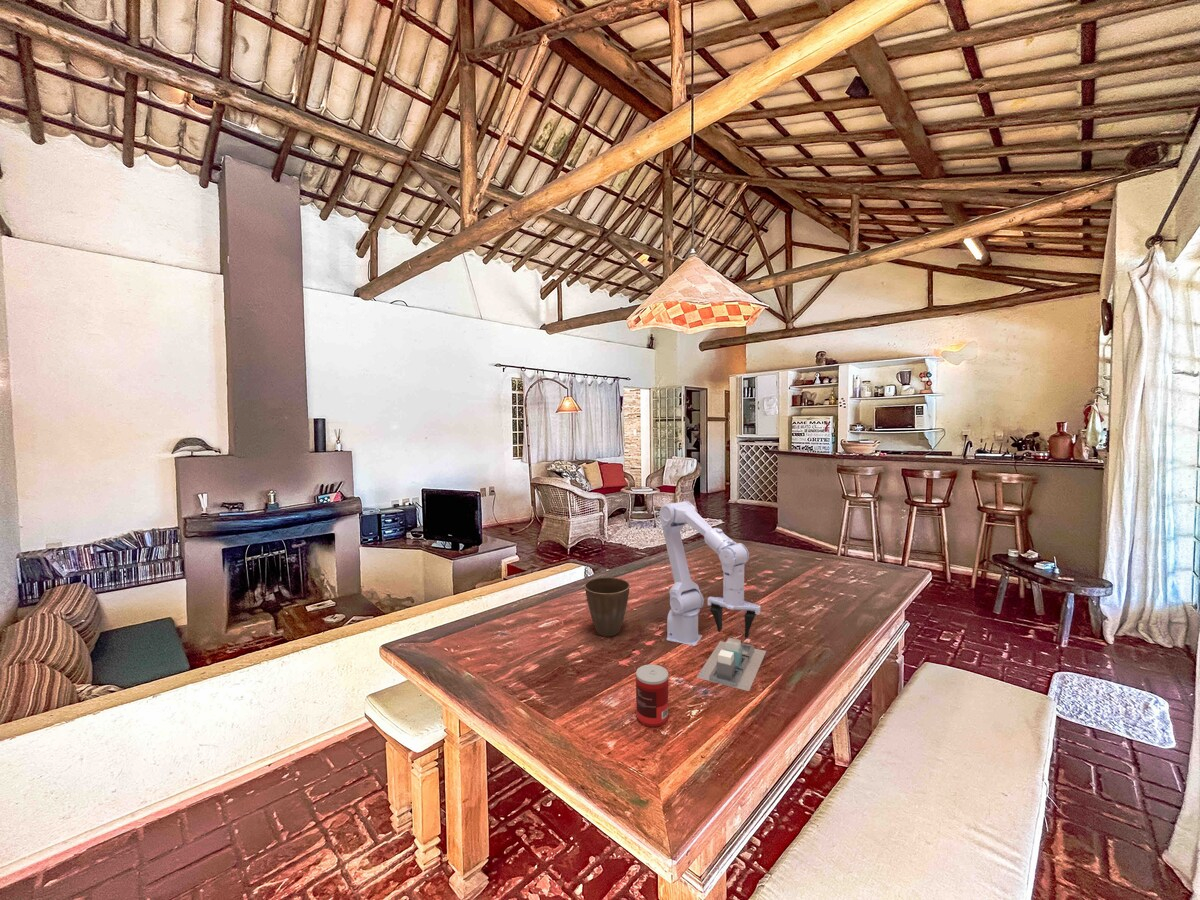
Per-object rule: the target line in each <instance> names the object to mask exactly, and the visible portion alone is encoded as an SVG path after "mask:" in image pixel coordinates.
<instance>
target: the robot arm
mask: <svg viewBox="0 0 1200 900" xmlns="http://www.w3.org/2000/svg"><path fill="white" fill-rule="evenodd" d="M658 515H659V519H660V523H661V528H662V529H661V530H662V533H663V537H664V543H665V546H666V550H667V555H668V560H669V564H670V569H671V574H672V578H673V581H674V584H673V585H672V587H670V589H669V591H668V593H669V607H670V608H671V609H669V611H668V614H667V619H666V623H667V624H666V630H667V632H666V633H667V634H666V635H667V636H666V642H672V643H673V642H675V643H680V644H685V645H689V646H693V647H695V646H696V645H697V644H698V643H699V641H700V640H701V639H702V637H703V635H702V634H699V613H700V612H701V608H703V606H704V601H705V600H704V595H703V594H702V592H701V591H700V588H699V584H697V583H696V582H695V581H693V580H692V578H691V574H690V570H689V569H690V568H689V565H688V560H687V557H686V556H687V555H686V552H685V548H684V543H683V539H682V535H681V531H682V529H683V528H684V527H685V526H686V525H687V524H688V525H689V526H690V527H692V528H693V529H694V530H695V531H696V532H698V533H699V534H700V535H702V536H703V537H704V539H703V540H704V542H705V544H706V545H708V546H709V548H710V549H712V550H713V552H715V553H716V554H717V555H718V559H719V562H720V564H721V570H722V572H723V575H722V576H723V577H722V579H723V580H722V581H723V582H722V583H723V584H722V587H723V589H722V590H723V591H722V592H723V593H722V596H723V597H719V596H709V597H707V606H710V608H709V611H710V613H711V615H712V616H713V619H714V622H715V624H716V625H715V626H716V630H717V632H718V633H721V631H722V630H723V608H726V609H728V610H731V611H733V610H737V611H742V612H746V613H745V614H744V625H745V626H744V627H745V628H744V638H745V639H748V638H749V636H750V630H751V627H752V624H753V621H754V619H755V617H756V615H758V616H759V615H760V614H761V605H758V604H755V603H752V602H749V601H746V600H745V564H747V562H748V561H749V559H750V552H749V550H748V548H747V547H746V546H745V545H744V543H741V542H738V543H737V542H736V541H734V540H733V539H732V538H730V537H729V536H728V535H726V534H725V533H724V531H723V529H721V528H718V527H712V526H711V525H710V524H709V523H708V522H707V521H706V520H705V519H704V518H703V517H702V516H701V514H699V513H698V512H697V509H696V506H695V505H693V504H692V502H690V501H688V500H684V501H678V502H671V503H664V504H662V506H661V508H660V509H659V511H658Z"/></svg>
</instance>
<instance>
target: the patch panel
mask: <svg viewBox="0 0 1200 900" xmlns="http://www.w3.org/2000/svg"><path fill="white" fill-rule="evenodd" d="M741 646H742V662H741V664H740V666H735V676H734V678H733V680H729V679H725V678H721V677H717V661H718V654H719V653H720V651H721V650H724V649H725V648H726V641H723V640H720V641H719V642H718V643H717V645H716V646H715V648H714V649H713V651H712V653H711V654H710V655H709V657H708V659H707V660H706V662H705V664H704V665H703V666H702V668H701V669H700V671H699V673H698V674H697V676H696V678H697V679H701V680H704V681H708V682H712V683H716V684H720V685H724V686H728V687H731V688H735V689H739V690H742V691H747V692H750V690H751V687H752V685H753V682H754V681H755V678H756V676H757V673H758V672H759V669H760V666H761V665H762V662H763V660H764V657H765V655H766V653H767V650H762V649H760V648H759V649H758V648H755V645H752V644H748V643H747V644H746V643H742V642H741Z"/></svg>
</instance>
